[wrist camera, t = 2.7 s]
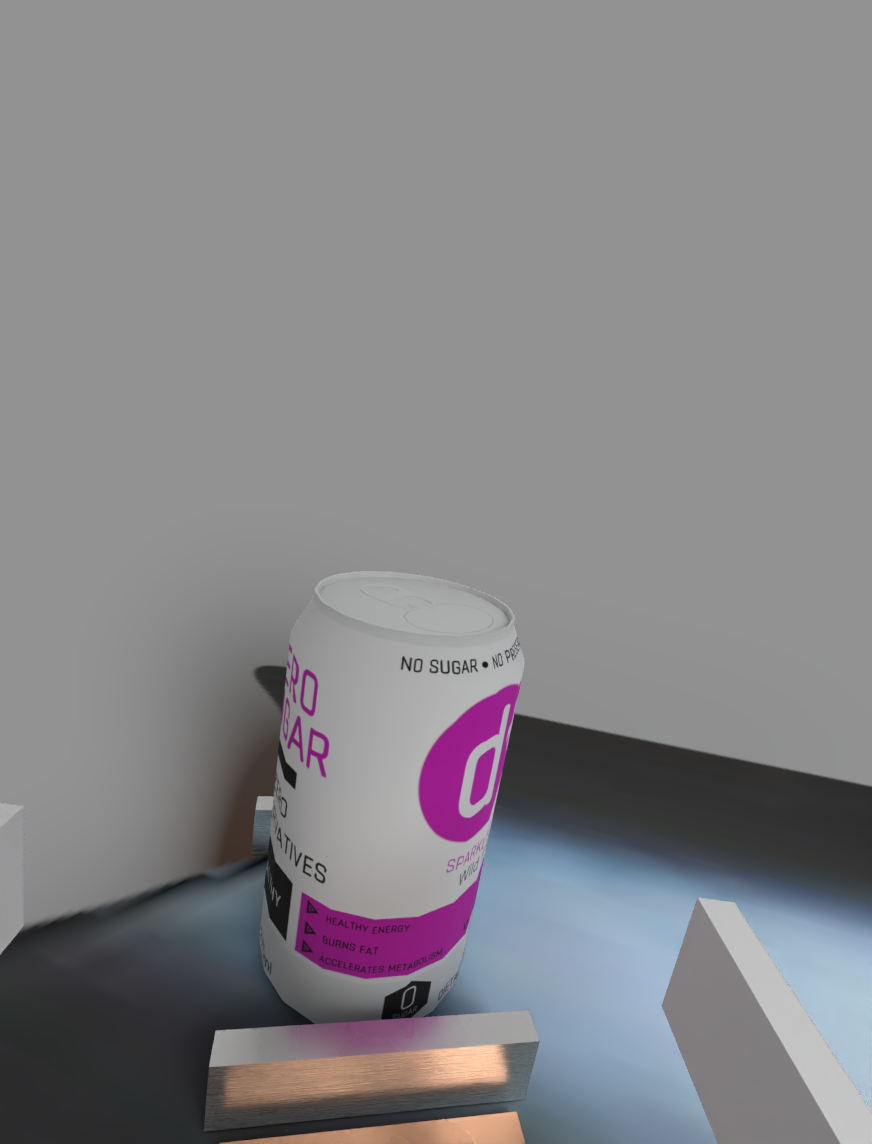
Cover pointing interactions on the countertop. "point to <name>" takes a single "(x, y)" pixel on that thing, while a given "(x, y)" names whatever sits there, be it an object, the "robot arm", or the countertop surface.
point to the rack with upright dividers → (371, 1070)
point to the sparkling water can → (384, 792)
